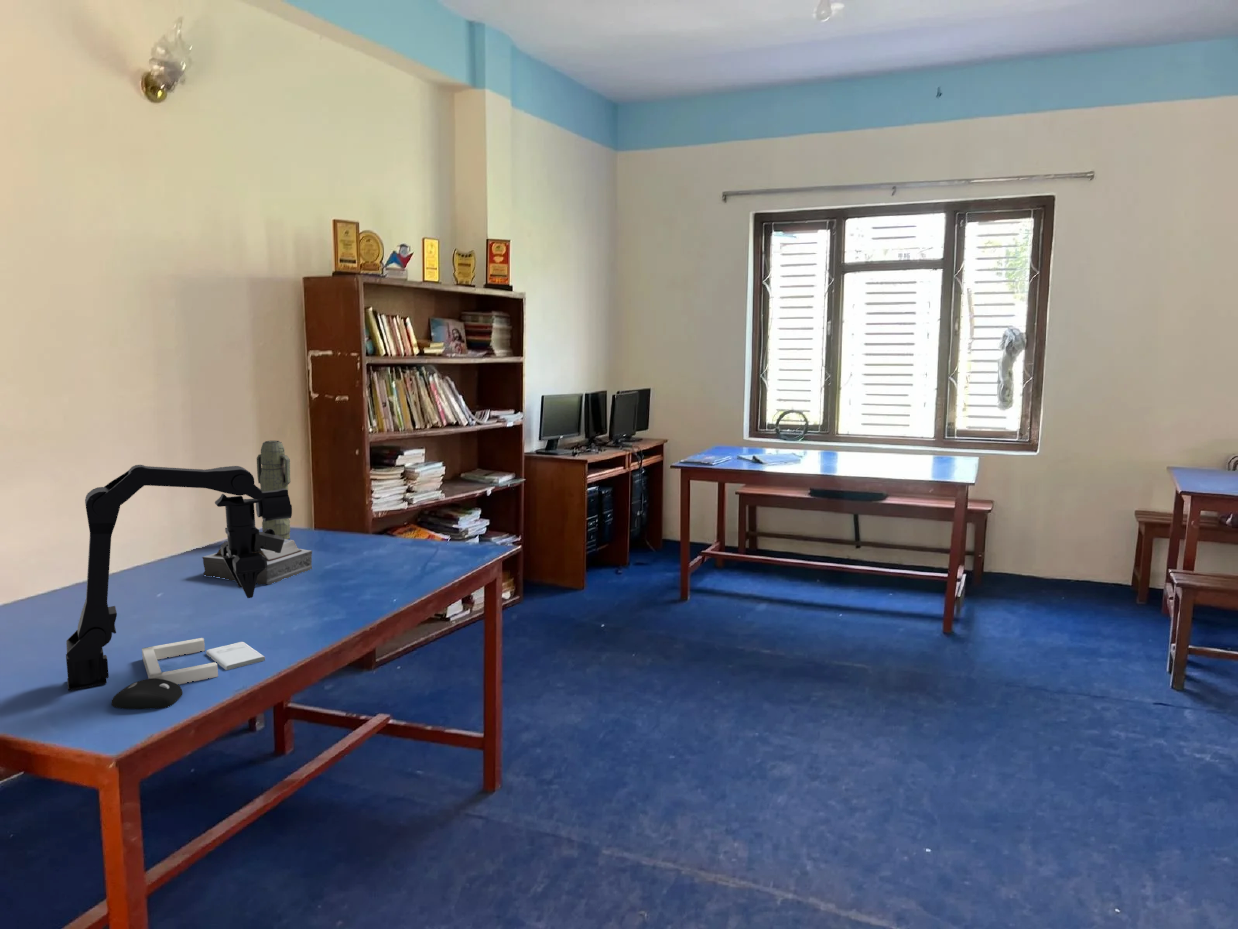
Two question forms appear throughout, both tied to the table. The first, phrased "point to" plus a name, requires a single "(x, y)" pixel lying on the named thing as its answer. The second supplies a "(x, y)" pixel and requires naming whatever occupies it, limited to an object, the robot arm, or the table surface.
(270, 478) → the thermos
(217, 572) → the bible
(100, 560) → the robot arm
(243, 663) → the external hard drive
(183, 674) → the dock
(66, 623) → the table surface
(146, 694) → the computer mouse
